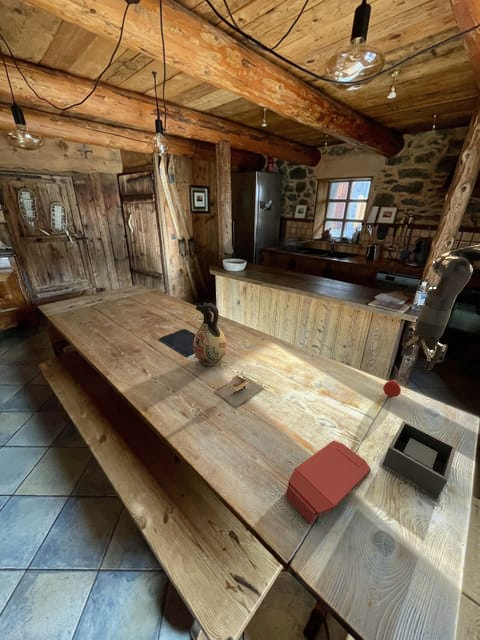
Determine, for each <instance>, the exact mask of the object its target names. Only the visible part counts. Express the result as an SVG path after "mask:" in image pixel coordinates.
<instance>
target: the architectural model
mask: <svg viewBox="0 0 480 640" xmlns="http://www.w3.org/2000/svg"><path fill="white" fill-rule="evenodd" d="M262 389H263V387H261V386H260V385H258V384H257V383H255V382H254V381H252V380H251V379H249V378H247V377H246V376H244V371H243V370H242V371H240V372H239V373H237V374H235V375H234V376H232V381H231V382H230V383H228V384H226V385H225V386H224V387H222V388H220V389H218V390H217V391H216V392H215V393H216V394H217V395H219V396H220V397H222V398H223V399H224V400H225V401H227V402H228V403H230V404H231V405H232V406H234V407H235V408H237V407H238V406H240V405H241V404H242V403H244V402H245V401H247V400H248V399H250V398H251V397H252V396H254V395H255V394H257V392H259V391H261V390H262Z"/></svg>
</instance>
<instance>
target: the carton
mask: <svg viewBox="0 0 480 640" xmlns="http://www.w3.org/2000/svg"><path fill="white" fill-rule="evenodd" d="M371 470H372V468H371V467H370V465H369V464H368V463H367V461H366V460H365V459H364V458H363V457H361V456H360V455H358V454H357V453H356V452H355V451H353V450H352V449H351V448H349V447H348V446H347V445H345V444H344V443H342V442H339V441H336V440H333V439H332V441H330V442H329V443H328V444H326V445H325V446H323V447H322V448H321V449H320V450H318V451H317V452H315V453H314V454H313V455H311V456H310V457H309V458H307V459H306V460H305V461H303V462H302V463H301V464H299V465H298V466H296V467H295V468H294V470H293V472H292V474H291V475H290V478H289V480H288V486H287V488H286V492H285V495H284V496H285V499H286V500H287V501H288V502H289V503H290V505H292V506H293V507H294V508H295V509H296V511H298V512H299V514H300V515H301V516H302V518H304V520H305V521H306V522H307V523H308V524H309V525H311V524H313V523H314V522H315V521H316V520H317V519H316V518H317V516H318V517H320V516H322V515H324V514H326V513H329V512H331V511H333V510H334V509H336V508H337V506H338V505H339V504H340V503H341V502H342V501H343V500H344V499H345V498H346V497H347V496H348V495H350V493H351V492H352V491H353V490H354V489H355V488H356V487H357V486H358V485H359V484H360V483H361V482H362V481H363V480H364V479H365V478H366V477H367V475H368V474H369V473H370V472H371Z"/></svg>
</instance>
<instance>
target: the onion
mask: <svg viewBox="0 0 480 640" xmlns="http://www.w3.org/2000/svg"><path fill="white" fill-rule="evenodd" d="M382 389H383V393H384V394H385V395H386V396H387V397H389V398H395V397H396V398H397V397H398V396H400V395H401V392H402V389H401V385H400V384H399V383H398V380H396V379H393V380H389V381H386V382H385V383H384V384H383V387H382Z"/></svg>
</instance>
